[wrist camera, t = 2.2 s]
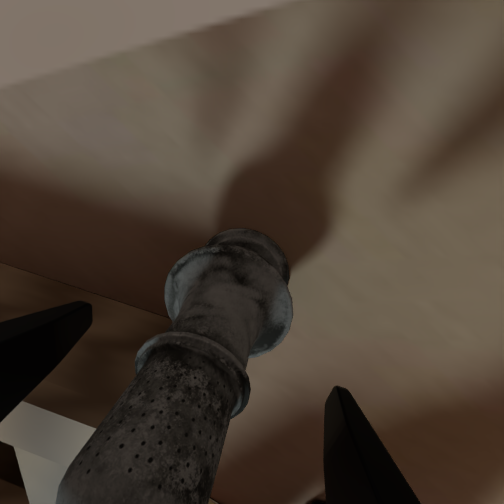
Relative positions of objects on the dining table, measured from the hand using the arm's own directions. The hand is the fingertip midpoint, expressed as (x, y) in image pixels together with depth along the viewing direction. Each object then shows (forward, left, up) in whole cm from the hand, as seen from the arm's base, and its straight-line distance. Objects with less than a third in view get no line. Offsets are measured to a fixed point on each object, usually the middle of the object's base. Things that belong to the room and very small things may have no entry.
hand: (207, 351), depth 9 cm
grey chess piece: (0, 0, -6) cm, 6 cm away
